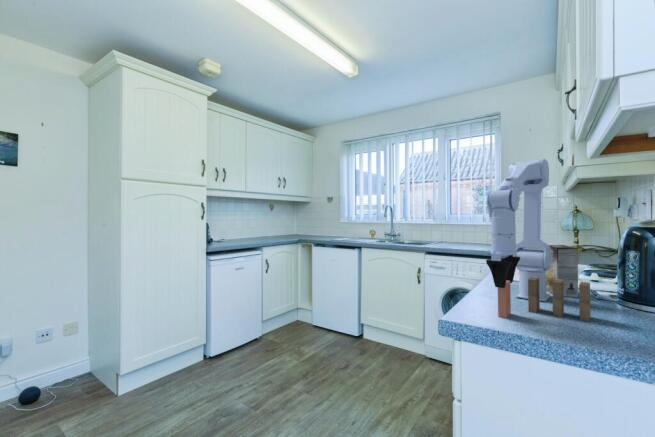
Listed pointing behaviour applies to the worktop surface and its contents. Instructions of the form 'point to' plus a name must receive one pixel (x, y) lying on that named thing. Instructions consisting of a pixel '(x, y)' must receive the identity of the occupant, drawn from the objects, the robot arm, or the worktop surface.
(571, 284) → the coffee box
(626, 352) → the worktop surface
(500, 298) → the domino
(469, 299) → the worktop surface
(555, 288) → the domino
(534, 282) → the domino
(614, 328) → the worktop surface
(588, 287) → the domino
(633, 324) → the worktop surface
